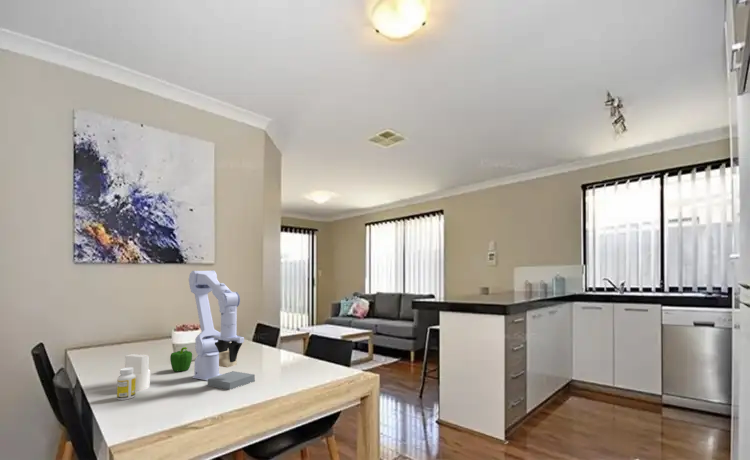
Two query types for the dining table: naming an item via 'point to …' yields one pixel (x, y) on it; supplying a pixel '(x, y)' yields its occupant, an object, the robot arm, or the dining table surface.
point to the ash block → (225, 359)
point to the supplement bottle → (126, 384)
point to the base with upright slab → (139, 370)
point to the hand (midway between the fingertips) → (228, 360)
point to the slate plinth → (231, 380)
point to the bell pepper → (181, 360)
